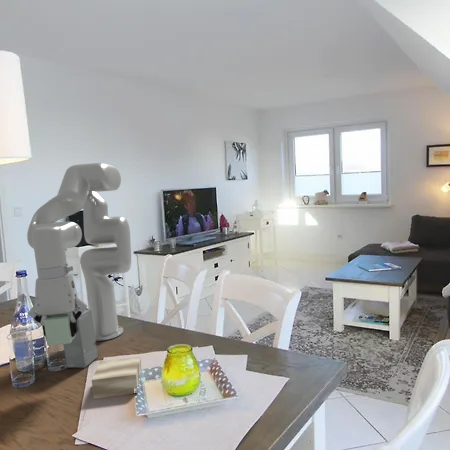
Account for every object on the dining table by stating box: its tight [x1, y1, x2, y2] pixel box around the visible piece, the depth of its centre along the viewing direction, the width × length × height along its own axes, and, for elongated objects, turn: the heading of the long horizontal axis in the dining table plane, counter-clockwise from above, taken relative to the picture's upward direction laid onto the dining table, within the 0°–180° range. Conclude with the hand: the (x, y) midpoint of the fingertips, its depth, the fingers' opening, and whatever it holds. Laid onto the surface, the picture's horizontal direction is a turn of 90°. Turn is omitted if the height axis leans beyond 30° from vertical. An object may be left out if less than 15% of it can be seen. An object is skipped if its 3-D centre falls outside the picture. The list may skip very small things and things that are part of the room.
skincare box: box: [62, 308, 99, 368], centre depth 129 cm, size 8×7×16 cm
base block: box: [91, 356, 142, 400], centre depth 112 cm, size 11×11×5 cm
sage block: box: [44, 313, 76, 347], centre depth 115 cm, size 6×6×7 cm
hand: (61, 335), depth 115 cm, fingers closed on sage block, 6 cm apart
